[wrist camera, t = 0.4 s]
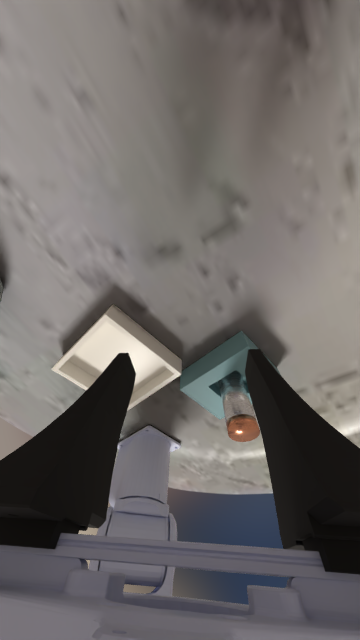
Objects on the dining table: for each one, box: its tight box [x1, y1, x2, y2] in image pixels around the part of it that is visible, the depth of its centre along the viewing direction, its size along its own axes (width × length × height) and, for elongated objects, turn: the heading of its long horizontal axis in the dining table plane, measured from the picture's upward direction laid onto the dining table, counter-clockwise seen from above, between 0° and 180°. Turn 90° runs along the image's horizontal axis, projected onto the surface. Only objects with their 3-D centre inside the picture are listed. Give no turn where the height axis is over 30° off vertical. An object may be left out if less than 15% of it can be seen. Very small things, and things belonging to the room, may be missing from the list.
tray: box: [52, 304, 182, 411], centre depth 25 cm, size 11×11×2 cm
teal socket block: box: [180, 331, 280, 419], centre depth 25 cm, size 10×8×3 cm
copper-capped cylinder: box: [218, 370, 260, 442], centre depth 22 cm, size 3×3×7 cm
